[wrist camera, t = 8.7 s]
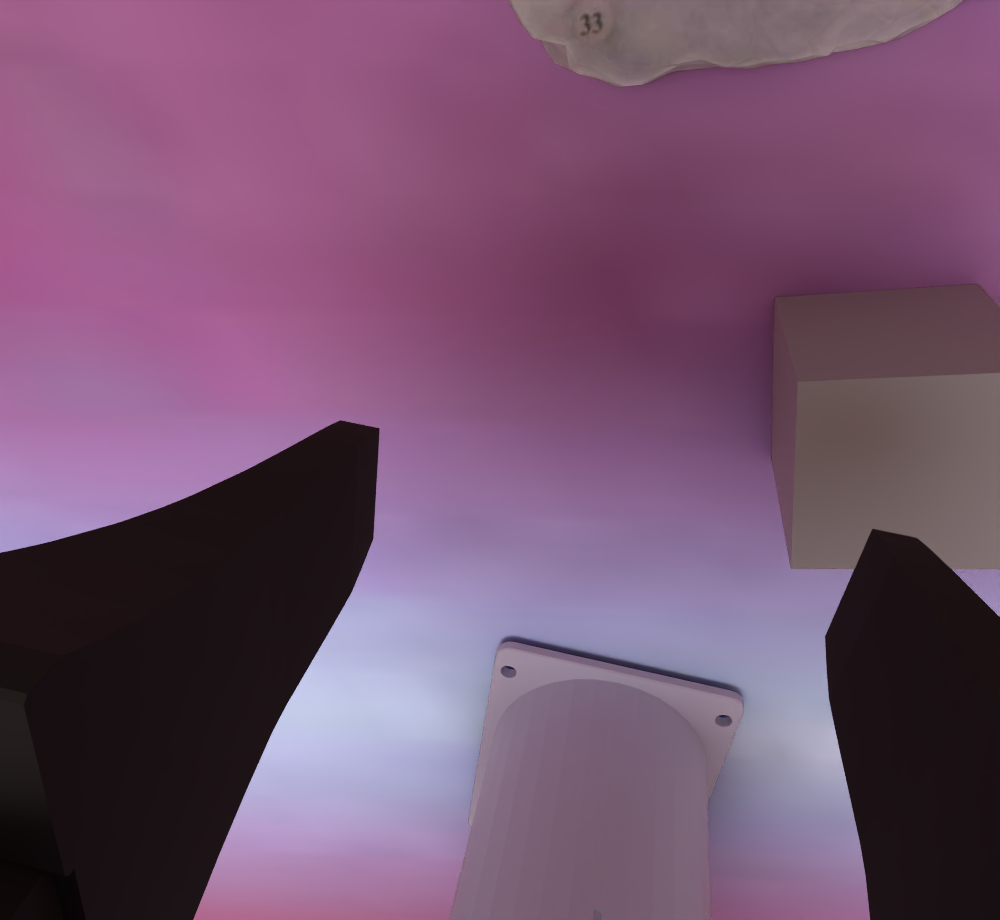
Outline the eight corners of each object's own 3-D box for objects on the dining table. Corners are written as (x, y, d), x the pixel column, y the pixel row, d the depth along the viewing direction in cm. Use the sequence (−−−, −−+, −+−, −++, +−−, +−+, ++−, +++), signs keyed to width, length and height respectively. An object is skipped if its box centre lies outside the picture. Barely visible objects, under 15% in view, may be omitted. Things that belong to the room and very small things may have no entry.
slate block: (953, 451, 22) (1018, 569, 18) (770, 456, 23) (791, 568, 19) (977, 282, 20) (1056, 370, 16) (774, 296, 21) (797, 381, 17)
